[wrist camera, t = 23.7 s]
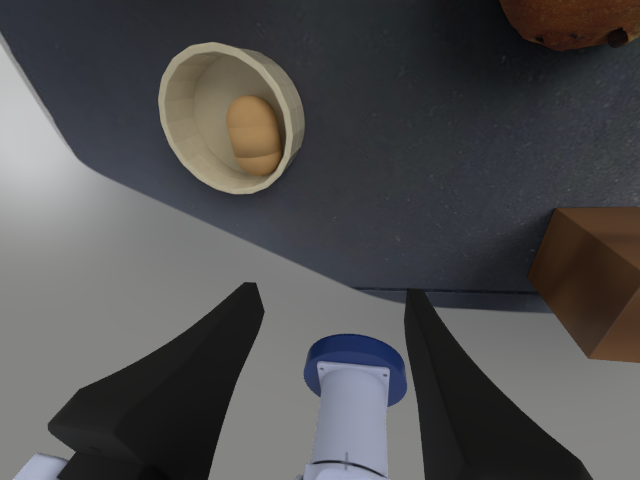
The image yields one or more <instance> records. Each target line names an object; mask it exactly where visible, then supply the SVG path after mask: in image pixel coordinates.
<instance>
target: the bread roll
mask: <svg viewBox="0 0 640 480" xmlns="http://www.w3.org/2000/svg"><path fill="white" fill-rule="evenodd" d="M499 1H500V3H501V6H502V8H503V11H504V13H505V14H506V16H507V18H508V20H509V22H510V24H511V26H512V27H513V28H515V29H516V30H517V31H518V32H519V34H520V35H521V36H522V37H523V38H524V39H526V40H528V41H531V42H535V43H540V44H542V45H544V46H546V47H548V48H550V49H552V50H557V51H562V52H563V51H564V50H570V49H579V48H582V47H590V46H595V45H600V44H604V43H609V45H610V47H614V48H617V47H620V46H623V45H626V44H628V43H629V42H631V41H632V40H634V39H635V38H637V37H639V36H640V0H499Z"/></svg>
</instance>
